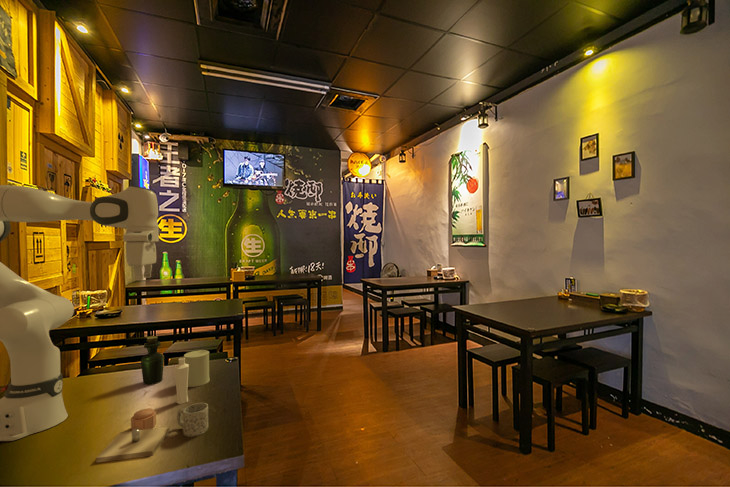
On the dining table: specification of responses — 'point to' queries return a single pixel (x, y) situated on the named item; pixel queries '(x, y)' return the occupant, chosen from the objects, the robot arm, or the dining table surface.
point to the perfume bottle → (181, 381)
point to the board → (133, 445)
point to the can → (197, 367)
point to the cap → (143, 419)
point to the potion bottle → (152, 362)
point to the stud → (135, 435)
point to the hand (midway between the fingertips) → (143, 278)
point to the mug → (194, 419)
